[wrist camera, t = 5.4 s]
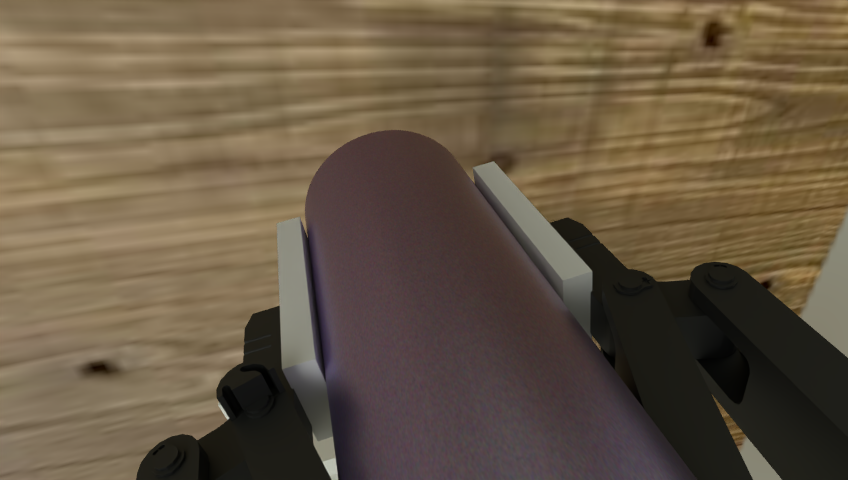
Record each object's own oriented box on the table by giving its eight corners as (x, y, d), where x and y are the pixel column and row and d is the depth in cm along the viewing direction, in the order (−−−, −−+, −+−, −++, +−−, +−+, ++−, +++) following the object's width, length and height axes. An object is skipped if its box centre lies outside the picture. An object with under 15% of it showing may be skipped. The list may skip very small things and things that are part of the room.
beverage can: (286, 139, 17) (334, 695, 5) (457, 109, 18) (844, 516, 6) (322, 280, 21) (402, 823, 8) (465, 248, 22) (726, 695, 9)
